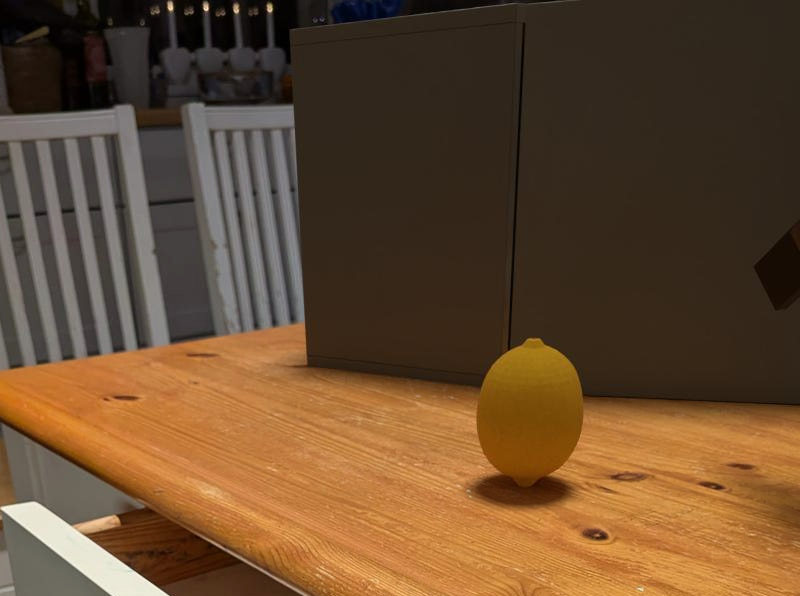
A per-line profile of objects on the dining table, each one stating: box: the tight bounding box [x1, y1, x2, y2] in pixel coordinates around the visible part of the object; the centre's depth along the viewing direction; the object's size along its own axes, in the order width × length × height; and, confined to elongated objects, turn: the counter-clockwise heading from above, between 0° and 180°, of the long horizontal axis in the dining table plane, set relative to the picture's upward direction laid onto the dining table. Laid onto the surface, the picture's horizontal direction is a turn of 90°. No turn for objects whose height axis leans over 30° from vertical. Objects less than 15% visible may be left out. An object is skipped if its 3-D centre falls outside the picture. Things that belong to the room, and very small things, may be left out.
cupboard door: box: [510, 0, 800, 405], centre depth 57 cm, size 8×26×24 cm, turn 70°
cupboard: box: [289, 2, 528, 389], centre depth 79 cm, size 18×26×24 cm
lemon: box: [475, 338, 585, 489], centre depth 51 cm, size 6×6×8 cm
